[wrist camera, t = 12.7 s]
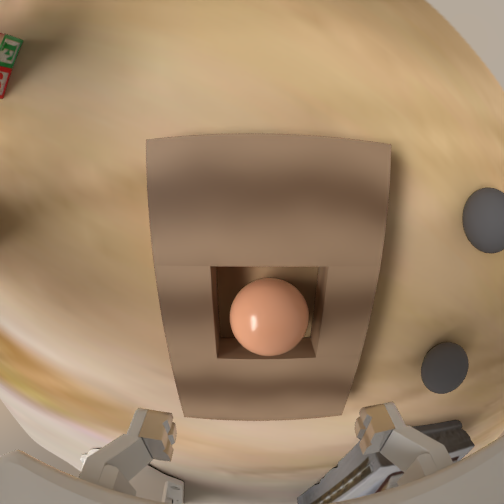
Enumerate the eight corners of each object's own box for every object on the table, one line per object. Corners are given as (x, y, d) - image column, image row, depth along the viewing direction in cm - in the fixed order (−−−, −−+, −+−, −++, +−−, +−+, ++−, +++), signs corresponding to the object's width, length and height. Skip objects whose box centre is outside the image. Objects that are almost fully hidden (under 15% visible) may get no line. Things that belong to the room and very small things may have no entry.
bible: (470, 418, 28) (493, 457, 19) (370, 495, 36) (379, 530, 27) (386, 410, 25) (414, 476, 16) (273, 495, 33) (275, 541, 24)
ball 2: (483, 242, 18) (519, 262, 14) (446, 241, 18) (485, 263, 14) (490, 187, 17) (530, 198, 12) (454, 179, 17) (497, 189, 12)
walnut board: (336, 396, 23) (341, 415, 21) (188, 397, 23) (184, 416, 21) (374, 145, 16) (391, 144, 14) (159, 141, 16) (145, 139, 14)
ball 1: (442, 367, 23) (463, 396, 18) (406, 375, 23) (426, 409, 18) (458, 329, 21) (485, 357, 16) (422, 336, 21) (447, 369, 16)
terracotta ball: (298, 326, 21) (311, 369, 16) (232, 328, 21) (229, 372, 16) (303, 265, 19) (321, 299, 14) (230, 266, 19) (225, 301, 14)
